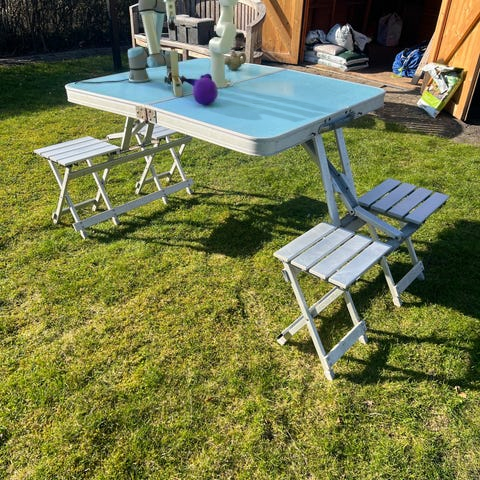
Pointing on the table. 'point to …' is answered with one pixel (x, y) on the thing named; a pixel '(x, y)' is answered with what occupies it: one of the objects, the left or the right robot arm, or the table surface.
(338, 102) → the table surface
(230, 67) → the teapot
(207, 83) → the toy
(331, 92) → the table surface
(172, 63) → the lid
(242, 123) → the table surface
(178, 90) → the cream suitcase
